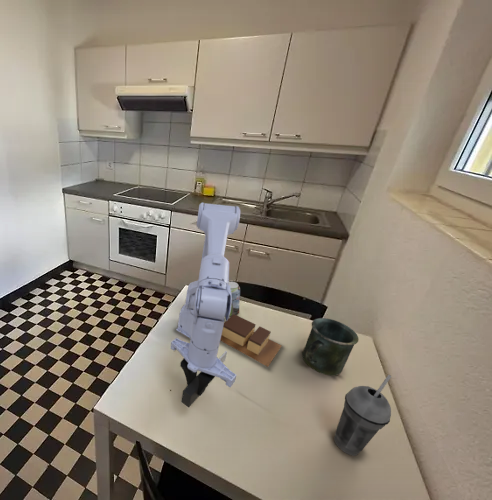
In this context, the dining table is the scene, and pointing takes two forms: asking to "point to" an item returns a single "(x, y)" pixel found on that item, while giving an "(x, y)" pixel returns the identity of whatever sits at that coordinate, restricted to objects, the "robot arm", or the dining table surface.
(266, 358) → the cake board
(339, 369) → the mug
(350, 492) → the dining table surface
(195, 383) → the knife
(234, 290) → the beverage can
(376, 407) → the beverage cup
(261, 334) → the cake slice
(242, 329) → the cake
